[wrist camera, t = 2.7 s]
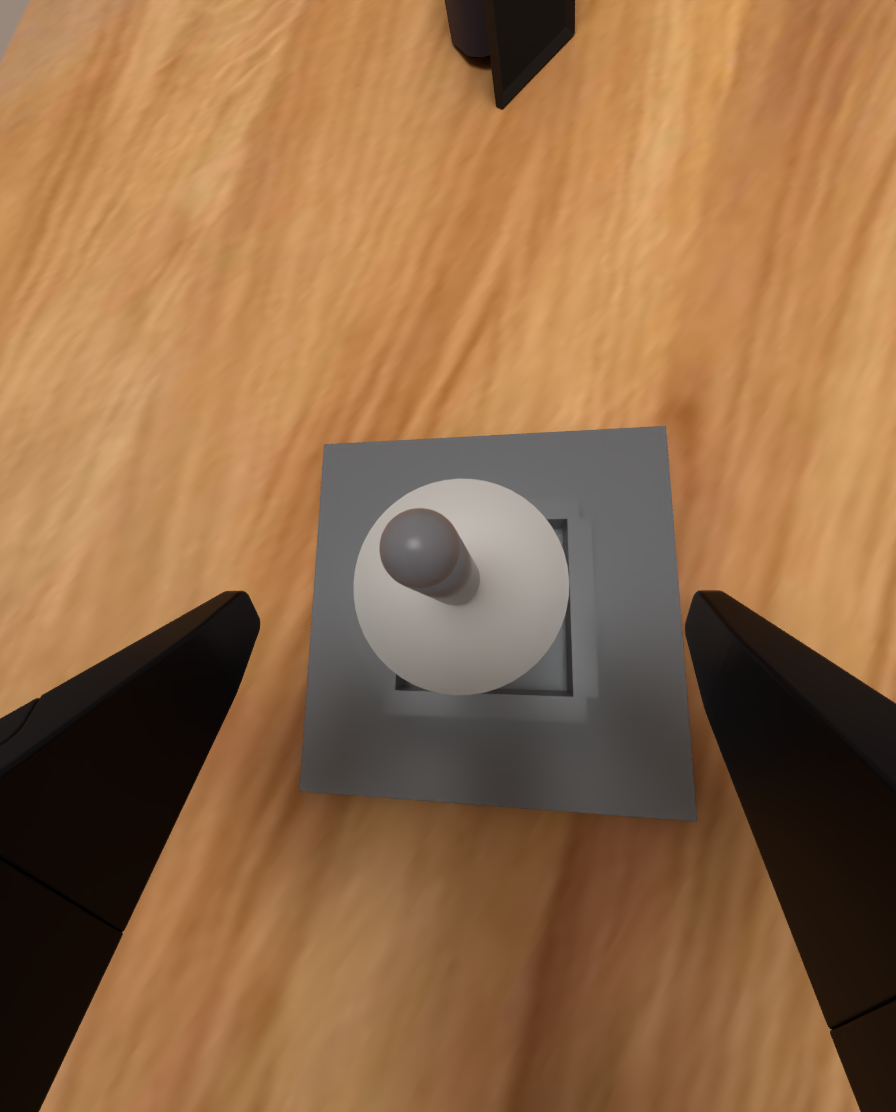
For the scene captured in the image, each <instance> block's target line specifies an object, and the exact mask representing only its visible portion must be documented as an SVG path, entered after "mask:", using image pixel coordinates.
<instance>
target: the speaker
mask: <svg viewBox="0 0 896 1112" xmlns="http://www.w3.org/2000/svg"><path fill="white" fill-rule="evenodd" d="M445 5H446V10H447V16H448V22H449V27H450V33H451V39H452V43H453V44H454V45H456V46H457V47H458V48H459V49H460V50H461V51H462V52H464V53H465V54H466V55H467V56H472V57H485V56H489V55H490V60H491V68H492V76H493V84H494V92H495V100H496V107H499V108H503V107H504V106H505V105H506V104H507V103H508V102H509V101H510V100H511V99H512V98H513V97H514V96H515V95H516V94H517V93H518V92H519V91H520V90H521V89H522V88H523V87H524V85H525V84H526V83H527V82H528V81H529V80H530V79H531V78H532V77H533V76H534V75H535V74H536V73H537V72H538V71H539V70H540V69H541V68H542V67H543V66H544V65H545V64H546V63H547V62H548V60H549V59H550V58H551V57H552V56H553V55H554V54H555V53H556V52H557V51H558V50H559V49H560V48H561V47H562V46H563V45H564V44H565V43H566V42H567V41H568V40H569V39H570V38H571V37H572V35H573V34H574V33H575V0H445Z"/></svg>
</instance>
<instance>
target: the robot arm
mask: <svg viewBox="0 0 896 1112" xmlns="http://www.w3.org/2000/svg"><path fill="white" fill-rule="evenodd" d="M259 630H260V619H259V616H258V614H257V612H256V610H255V608H254V605H253V603H252V601H251V599H250V597H249V595H248V594H247V593H246V592H244V591H225V592H223V593H221V594H219V595H218V596H216V597H214V598H212V599H211V600H209V601H207V602H205V603H203V604H202V605H200V606H198V607H196V608H195V609H193V610H191V611H189V612H188V613H186V614H184V615H182V616H181V617H179V618H177V619H175V620H174V621H172V622H170V623H168V624H166V625H165V626H163V627H161V628H159V629H158V630H156V631H154V632H152V633H151V634H149V635H147V636H145V637H144V638H142V639H140V640H138V641H137V642H135V643H133V644H131V645H130V646H128V647H126V648H124V649H122V650H121V651H119V652H117V653H115V654H114V655H112V656H110V657H108V658H107V659H105V660H103V661H101V662H100V663H98V664H96V665H94V666H93V667H91V668H89V669H87V670H85V671H84V672H82V673H80V674H78V675H77V676H75V677H73V678H71V679H70V680H68V681H66V682H64V683H63V684H61V685H59V686H57V687H56V688H54V689H52V690H50V691H48V692H47V693H45V694H43V695H42V696H41V697H40V698H36V699H34V700H32V701H31V702H29V703H27V704H25V705H24V706H22V707H20V708H18V709H17V710H15V711H13V712H11V713H9V714H8V715H6V716H4V717H2V718H0V1112H39V1111H40V1108H41V1106H42V1104H43V1102H44V1100H45V1098H46V1096H47V1094H48V1092H49V1089H50V1087H51V1085H52V1083H53V1081H54V1079H55V1077H56V1075H57V1073H58V1070H59V1068H60V1066H61V1064H62V1062H63V1060H64V1058H65V1056H66V1054H67V1051H68V1049H69V1047H70V1045H71V1043H72V1041H73V1039H74V1037H75V1035H76V1032H77V1030H78V1028H79V1026H80V1024H81V1022H82V1020H83V1018H84V1016H85V1013H86V1011H87V1009H88V1007H89V1005H90V1003H91V1001H92V999H93V997H94V994H95V992H96V990H97V988H98V986H99V984H100V982H101V980H102V977H103V975H104V973H105V971H106V969H107V967H108V965H109V963H110V961H111V958H112V956H113V954H114V952H115V950H116V948H117V946H118V944H119V942H120V939H121V937H122V935H123V933H122V932H123V931H124V930H125V928H126V926H127V924H128V922H129V920H130V918H131V916H132V914H133V911H134V909H135V907H136V905H137V903H138V901H139V899H140V897H141V895H142V892H143V890H144V888H145V886H146V884H147V882H148V880H149V878H150V876H151V873H152V871H153V869H154V867H155V865H156V863H157V861H158V859H159V857H160V854H161V852H162V850H163V848H164V846H165V844H166V842H167V840H168V838H169V835H170V833H171V831H172V829H173V827H174V825H175V823H176V821H177V819H178V817H179V814H180V812H181V810H182V808H183V806H184V804H185V802H186V800H187V798H188V795H189V793H190V791H191V789H192V787H193V785H194V783H195V781H196V779H197V776H198V774H199V772H200V770H201V768H202V766H203V764H204V762H205V760H206V757H207V755H208V753H209V751H210V749H211V747H212V745H213V743H214V741H215V738H216V736H217V734H218V732H219V730H220V728H221V726H222V724H223V722H224V720H225V717H226V715H227V713H228V711H229V709H230V707H231V705H232V703H233V700H234V698H235V696H236V694H237V691H238V689H239V686H240V683H241V681H242V678H243V675H244V672H245V670H246V667H247V664H248V661H249V658H250V655H251V653H252V650H253V647H254V644H255V641H256V639H257V636H258V633H259ZM685 635H686V639H687V643H688V647H689V651H690V655H691V658H692V662H693V666H694V670H695V674H696V678H697V682H698V686H699V690H700V694H701V697H702V701H703V704H704V708H705V711H706V714H707V717H708V719H709V722H710V725H711V727H712V730H713V733H714V735H715V738H716V740H717V743H718V745H719V748H720V751H721V753H722V756H723V758H724V761H725V763H726V766H727V769H728V771H729V774H730V776H731V779H732V781H733V784H734V787H735V789H736V792H737V794H738V797H739V799H740V802H741V805H742V807H743V810H744V812H745V815H746V817H747V820H748V822H749V825H750V828H751V830H752V833H753V835H754V838H755V840H756V843H757V846H758V848H759V851H760V853H761V856H762V858H763V861H764V864H765V866H766V869H767V871H768V874H769V876H770V879H771V882H772V884H773V887H774V889H775V892H776V894H777V897H778V900H779V902H780V905H781V907H782V910H783V912H784V915H785V918H786V920H787V923H788V925H789V928H790V930H791V933H792V935H793V938H794V941H795V943H796V946H797V948H798V951H799V953H800V956H801V959H802V961H803V964H804V966H805V969H806V971H807V974H808V977H809V979H810V982H811V984H812V987H813V989H814V992H815V995H816V997H817V1000H818V1002H819V1005H820V1007H821V1010H822V1013H823V1015H824V1018H825V1020H826V1023H827V1025H828V1027H829V1028H830V1029H832V1030H831V1031H830V1034H831V1037H832V1039H833V1042H834V1044H835V1047H836V1050H837V1052H838V1055H839V1057H840V1060H841V1062H842V1065H843V1068H844V1070H845V1073H846V1075H847V1078H848V1080H849V1083H850V1086H851V1088H852V1091H853V1093H854V1096H855V1098H856V1101H857V1104H858V1106H859V1109H860V1111H861V1112H896V703H894V702H893V701H891V700H890V699H888V698H887V697H885V696H883V695H882V694H880V693H879V692H877V691H876V690H874V689H873V688H871V687H870V686H868V685H866V684H865V683H863V682H862V681H860V680H859V679H857V678H856V677H854V676H853V675H851V674H849V673H848V672H846V671H845V670H843V669H842V668H840V667H839V666H837V665H836V664H834V663H833V662H831V661H829V660H828V659H826V658H825V657H823V656H822V655H820V654H819V653H817V652H816V651H814V650H812V649H811V648H809V647H808V646H806V645H805V644H803V643H802V642H800V641H799V640H797V639H795V638H794V637H792V636H791V635H789V634H788V633H786V632H785V631H783V630H782V629H780V628H779V627H777V626H775V625H774V624H772V623H771V622H769V621H768V620H766V619H765V618H763V617H762V616H760V615H758V614H757V613H755V612H754V611H752V610H751V609H749V608H748V607H746V606H745V605H743V604H741V603H740V602H738V601H737V600H735V599H734V598H732V597H731V596H729V595H728V594H726V593H724V592H722V591H718V590H701V591H698V592H696V593H695V594H694V596H693V599H692V602H691V606H690V609H689V613H688V616H687V619H686V623H685Z"/></svg>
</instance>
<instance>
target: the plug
mask: <svg viewBox="0 0 896 1112" xmlns="http://www.w3.org/2000/svg"><path fill="white" fill-rule="evenodd" d="M568 598H569V575H568V566H567V562H566V558H565V554H564V551H563V548H562V546H561V543H560V541H559V539H558V537H557V535H556V533H555V531H554V530H553V528H552V526H551V525H550V524H549V522H548V521H547V520H546V518H545V517H544V516H543V515H542V514H541V513H540V511H539V510H538V509H537V508H536V507H535V506H534V505H532V504H531V503H530V502H528V501H527V500H526V499H525V498H523V497H522V496H520V495H518V494H517V493H515V492H513V491H512V490H510V489H507V488H505V487H503V486H500V485H498V484H494V483H491V482H487V481H482V480H476V479H450V480H443V481H439V482H434V483H431V484H428V485H425V486H422V487H420V488H418V489H416V490H414V491H412V492H410V493H408V494H406V495H405V496H403V497H402V498H400V499H399V500H397V501H396V502H395V503H394V504H393V505H391V506H390V507H389V508H388V509H387V510H386V511H385V512H384V513H383V514H382V515H381V516H380V517H379V519H378V520H377V521H376V522H375V524H374V525H373V527H372V528H371V530H370V531H369V533H368V535H367V537H366V539H365V540H364V542H363V545H362V547H361V550H360V553H359V555H358V559H357V563H356V567H355V574H354V602H355V610H356V613H357V617H358V621H359V624H360V626H361V629H362V631H363V634H364V636H365V638H366V640H367V641H368V643H369V645H370V646H371V648H372V649H373V651H374V652H375V653H376V655H377V656H378V657H379V659H380V660H381V661H382V662H383V663H384V664H385V665H386V666H387V667H388V668H389V669H390V670H392V671H393V672H394V673H396V674H397V675H398V676H400V677H401V678H403V679H404V680H406V681H408V682H410V683H412V684H413V685H416V686H418V687H421V688H423V689H426V690H429V691H433V692H437V693H441V694H450V695H472V694H478V693H484V692H488V691H491V690H494V689H497V688H500V687H502V686H504V685H506V684H508V683H511V682H513V681H514V680H516V679H517V678H519V677H520V676H522V675H523V674H525V673H526V672H527V671H529V670H530V669H531V668H532V667H533V666H534V665H536V664H537V663H538V662H539V660H540V659H541V658H542V657H543V656H544V655H545V653H546V652H547V651H548V649H549V648H550V646H551V645H552V643H553V642H554V640H555V639H556V637H557V634H558V632H559V630H560V628H561V626H562V623H563V620H564V617H565V614H566V610H567V604H568Z"/></svg>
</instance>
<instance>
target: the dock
mask: <svg viewBox="0 0 896 1112" xmlns="http://www.w3.org/2000/svg"><path fill="white" fill-rule="evenodd" d="M450 479H476V480H482V481H487V482H491V483H494V484H498V485H500V486H503V487H505V488H507V489H510V490H512V491H513V492H515V493H517V494H518V495H520V496H522V497H523V498H525V499H526V500H527V501H528V502H530V503H531V504H532V505H534V506H535V507H536V508H537V509H538V510H539V511H540V513H541V514H542V515H543V516H544V517H545V518H546V520H547V521H548V522H549V524H550V525H551V526H552V528H553V530H554V531H555V533H556V535H557V537H558V539H559V541H560V543H561V546H562V548H563V551H564V554H565V558H566V562H567V566H568V575H569V598H568V604H567V610H566V614H565V617H564V620H563V623H562V626H561V628H560V630H559V632H558V634H557V637H556V639H555V640H554V642H553V643H552V645H551V646H550V648H549V649H548V651H547V652H546V653H545V655H544V656H543V657H542V658H541V659H540V660H539V662H538V663H537V664H536V665H534V666H533V667H532V668H531V669H530V670H529V671H527V672H526V673H525V674H523V675H522V676H520V677H519V678H517V679H516V680H514V681H513V682H511V683H508V684H506V685H504V686H502V687H500V688H497V689H494V690H491V691H488V692H484V693H478V694H472V695H450V694H441V693H437V692H433V691H429V690H426V689H423V688H421V687H418V686H416V685H413V684H412V683H410V682H408V681H406V680H404V679H403V678H401V677H400V676H398V675H397V674H396V673H394V672H393V671H392V670H390V669H389V668H388V667H387V666H386V665H385V664H384V663H383V662H382V661H381V660H380V659H379V657H378V656H377V655H376V653H375V652H374V651H373V649H372V648H371V646H370V645H369V643H368V641H367V640H366V638H365V636H364V634H363V631H362V629H361V626H360V624H359V621H358V617H357V613H356V610H355V602H354V574H355V567H356V563H357V559H358V555H359V553H360V550H361V547H362V545H363V542H364V540H365V539H366V537H367V535H368V533H369V531H370V530H371V528H372V527H373V525H374V524H375V522H376V521H377V520H378V519H379V517H380V516H381V515H382V514H383V513H384V512H385V511H386V510H387V509H388V508H389V507H390V506H391V505H393V504H394V503H395V502H396V501H397V500H399V499H400V498H402V497H403V496H405V495H406V494H408V493H410V492H412V491H414V490H416V489H418V488H420V487H422V486H425V485H428V484H431V483H434V482H439V481H443V480H450ZM300 791H302V792H315V793H328V794H341V795H354V796H367V797H380V798H394V799H407V800H420V801H433V802H446V803H459V804H472V805H485V806H499V807H512V808H525V809H538V810H551V811H564V812H577V813H590V814H604V815H617V816H630V817H643V818H656V819H669V820H682V821H696V822H697V812H696V799H695V787H694V774H693V761H692V749H691V736H690V724H689V711H688V698H687V686H686V673H685V661H684V648H683V635H682V623H681V610H680V598H679V585H678V572H677V560H676V547H675V535H674V522H673V509H672V497H671V484H670V472H669V459H668V446H667V434H666V426H657V427H639V428H620V429H602V430H583V431H565V432H547V433H528V434H510V435H491V436H473V437H454V438H436V439H417V440H399V441H381V442H362V443H344V444H325V445H324V452H323V466H322V481H321V495H320V509H319V523H318V537H317V551H316V566H315V580H314V594H313V608H312V622H311V636H310V650H309V665H308V679H307V693H306V707H305V721H304V735H303V750H302V764H301V778H300Z"/></svg>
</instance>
